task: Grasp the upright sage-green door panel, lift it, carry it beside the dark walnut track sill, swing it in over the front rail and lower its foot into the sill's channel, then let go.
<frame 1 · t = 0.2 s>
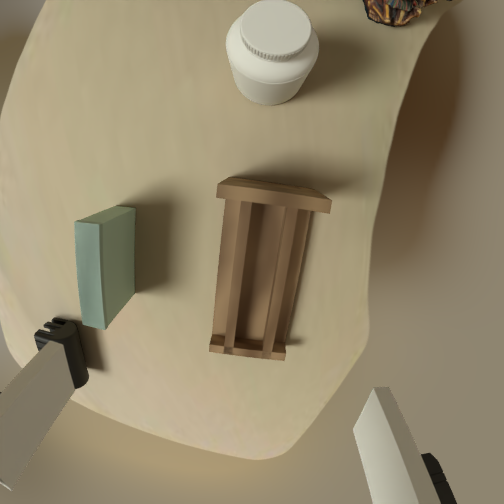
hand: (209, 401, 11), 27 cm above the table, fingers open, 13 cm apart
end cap: (74, 342, 44), on the table
figurine: (384, 11, 28), on the table
door panel: (124, 251, 38), on the table
track sill: (258, 270, 39), on the table
pill bottle: (268, 75, 32), on the table
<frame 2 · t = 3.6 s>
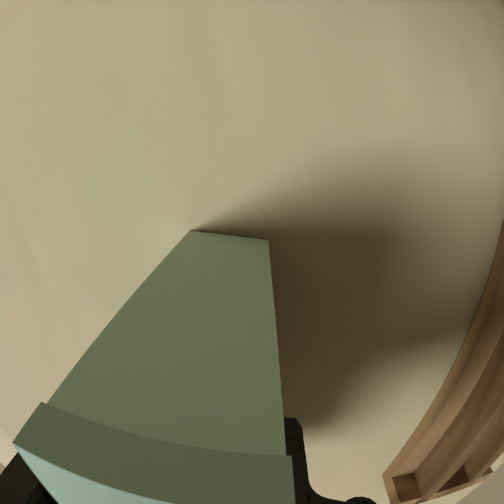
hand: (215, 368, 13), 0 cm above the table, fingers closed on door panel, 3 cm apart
door panel: (217, 362, 13), on the table, touching gripper
track sill: (501, 363, 14), on the table
when the fingers open (5 cm above the table, at t = 8.3 s): door panel drops 3 cm, resting on track sill.
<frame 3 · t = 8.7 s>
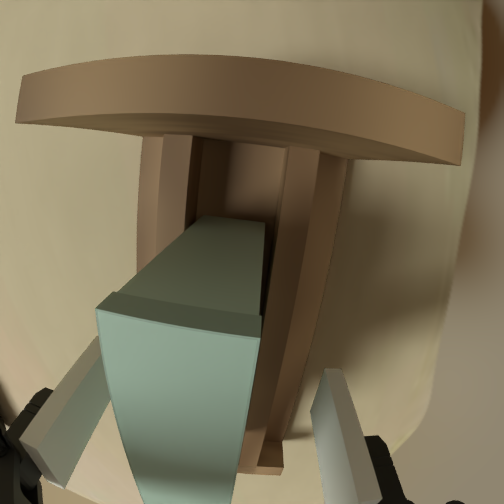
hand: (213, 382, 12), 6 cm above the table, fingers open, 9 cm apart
door panel: (223, 327, 16), point 1 cm above the table, touching track sill
track sill: (225, 320, 17), on the table
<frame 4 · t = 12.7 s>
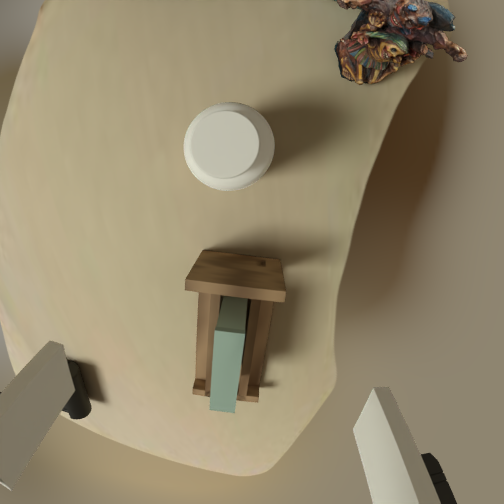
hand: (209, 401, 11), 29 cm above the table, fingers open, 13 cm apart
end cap: (77, 378, 48), on the table
figurine: (359, 65, 32), on the table
door panel: (232, 330, 42), point 1 cm above the table, touching track sill
track sill: (233, 328, 43), on the table
pill bottle: (237, 150, 36), on the table
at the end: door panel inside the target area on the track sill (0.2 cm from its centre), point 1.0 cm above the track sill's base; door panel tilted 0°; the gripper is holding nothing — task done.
